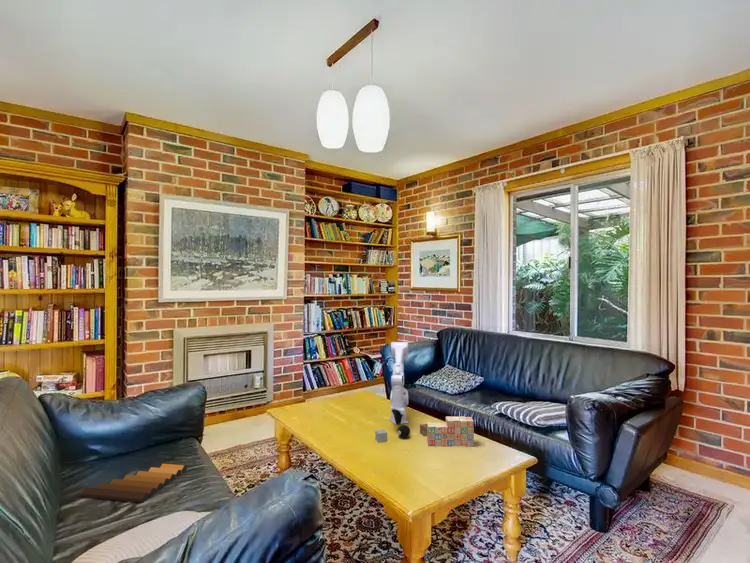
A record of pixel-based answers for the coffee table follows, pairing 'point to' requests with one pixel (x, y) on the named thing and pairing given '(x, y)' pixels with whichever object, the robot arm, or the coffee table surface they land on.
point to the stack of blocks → (451, 432)
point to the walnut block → (423, 429)
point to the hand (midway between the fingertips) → (398, 423)
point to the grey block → (381, 436)
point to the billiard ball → (403, 431)
